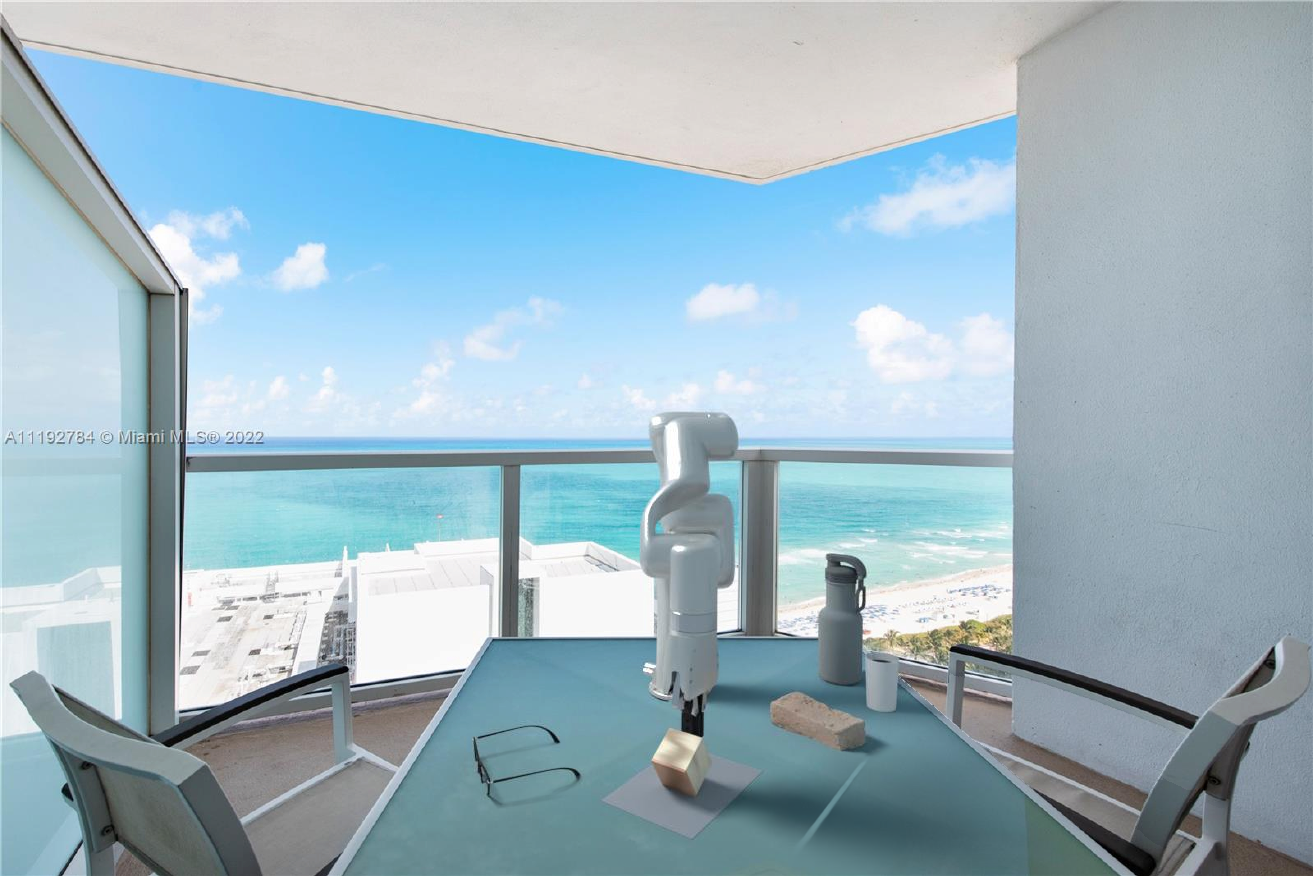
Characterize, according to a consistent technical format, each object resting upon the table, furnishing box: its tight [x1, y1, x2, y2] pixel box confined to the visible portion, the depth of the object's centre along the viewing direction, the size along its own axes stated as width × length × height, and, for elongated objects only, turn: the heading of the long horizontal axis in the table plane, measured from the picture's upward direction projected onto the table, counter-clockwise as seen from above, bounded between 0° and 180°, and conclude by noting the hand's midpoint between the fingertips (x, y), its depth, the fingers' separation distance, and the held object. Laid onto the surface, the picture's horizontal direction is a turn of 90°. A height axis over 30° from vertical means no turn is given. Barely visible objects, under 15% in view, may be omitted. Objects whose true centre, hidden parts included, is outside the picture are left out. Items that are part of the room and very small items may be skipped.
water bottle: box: [817, 553, 868, 686], centre depth 149 cm, size 10×10×28 cm
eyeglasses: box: [472, 724, 581, 796], centre depth 108 cm, size 16×16×4 cm
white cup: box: [864, 651, 900, 713], centre depth 134 cm, size 7×7×10 cm
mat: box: [600, 752, 764, 840], centre depth 102 cm, size 16×22×1 cm
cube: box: [651, 727, 712, 797], centre depth 101 cm, size 6×6×6 cm
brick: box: [769, 691, 867, 752], centre depth 123 cm, size 16×8×5 cm, turn 39°
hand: (692, 736), depth 104 cm, fingers closed
